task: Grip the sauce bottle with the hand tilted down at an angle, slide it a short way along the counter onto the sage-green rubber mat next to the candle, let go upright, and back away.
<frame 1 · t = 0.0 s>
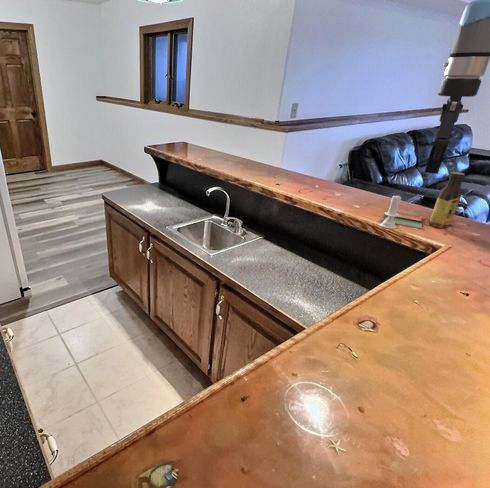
hand: (432, 167, 91), 29 cm above the counter, tool pointing down, fingers open, 13 cm apart
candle: (388, 226, 129), on the counter
mat: (403, 221, 134), on the counter
sauce bottle: (438, 226, 129), on the counter
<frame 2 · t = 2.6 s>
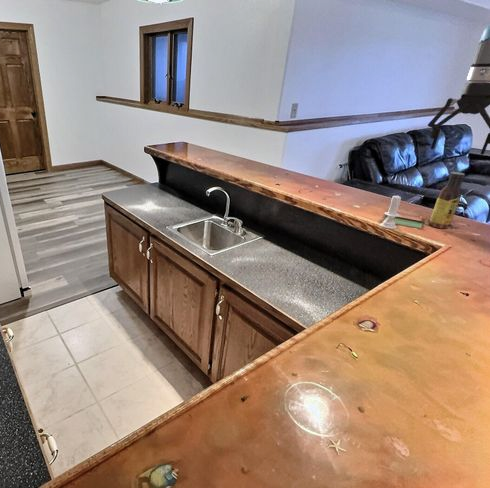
hand: (456, 151, 119), 27 cm above the counter, tool pointing down, fingers open, 13 cm apart
nothing on the counter moved.
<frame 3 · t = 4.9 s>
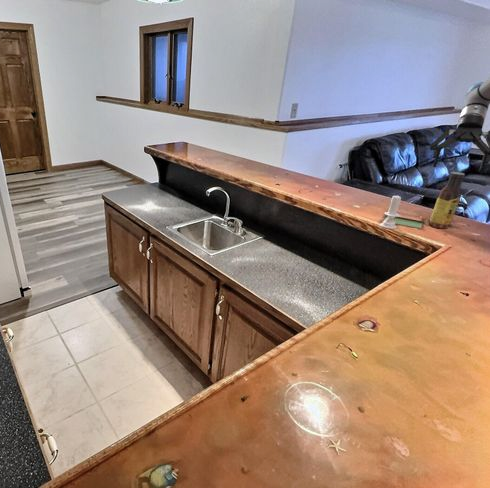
hand: (457, 167, 128), 20 cm above the counter, tool tilted 45°, fingers open, 13 cm apart
nothing on the counter moved.
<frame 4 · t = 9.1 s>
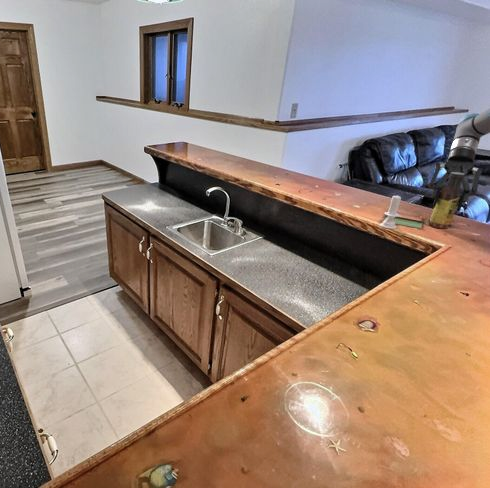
hand: (446, 207, 123), 8 cm above the counter, tool tilted 45°, fingers closed on sauce bottle, 6 cm apart
sauce bottle: (438, 226, 129), on the counter, touching gripper
everything else where it was.
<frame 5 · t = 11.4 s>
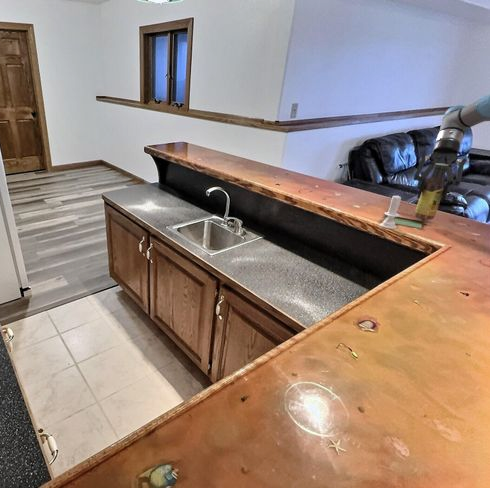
hand: (430, 198, 124), 11 cm above the counter, tool tilted 45°, fingers closed on sauce bottle, 6 cm apart
sauce bottle: (423, 217, 130), point 2 cm above the counter, touching gripper
everything else where it was.
when the fingers open (9 cm above the counter, at t = 13.7 s): sauce bottle stays where it is, resting on mat.
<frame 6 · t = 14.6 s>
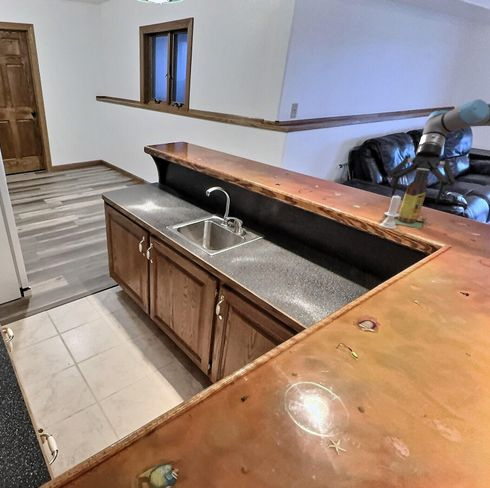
hand: (414, 197, 127), 10 cm above the counter, tool tilted 45°, fingers open, 13 cm apart
sauce bottle: (406, 221, 133), resting on mat
everything else where it was.
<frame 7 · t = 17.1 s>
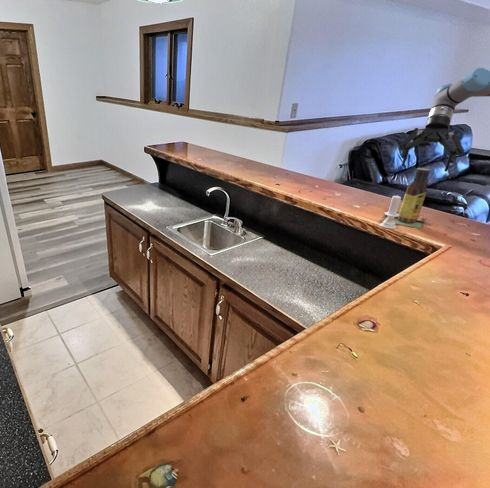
hand: (424, 166, 132), 19 cm above the counter, tool tilted 45°, fingers open, 13 cm apart
nothing on the counter moved.
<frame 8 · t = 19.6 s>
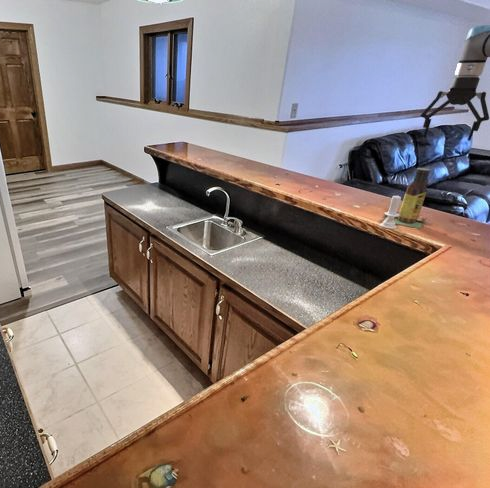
hand: (446, 138, 133), 29 cm above the counter, tool pointing down, fingers open, 13 cm apart
nothing on the counter moved.
at the end: sauce bottle 10.4 cm from the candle (horizontally); sauce bottle inside the target area (1.0 cm from its centre), resting on mat; sauce bottle tilted 0° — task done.
